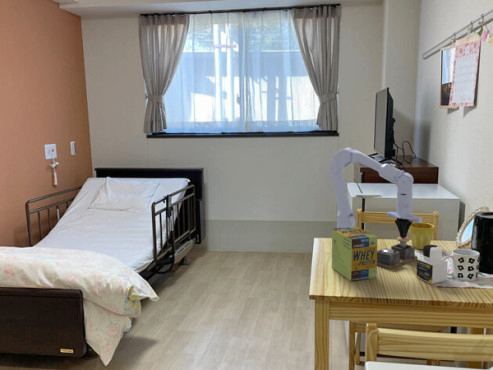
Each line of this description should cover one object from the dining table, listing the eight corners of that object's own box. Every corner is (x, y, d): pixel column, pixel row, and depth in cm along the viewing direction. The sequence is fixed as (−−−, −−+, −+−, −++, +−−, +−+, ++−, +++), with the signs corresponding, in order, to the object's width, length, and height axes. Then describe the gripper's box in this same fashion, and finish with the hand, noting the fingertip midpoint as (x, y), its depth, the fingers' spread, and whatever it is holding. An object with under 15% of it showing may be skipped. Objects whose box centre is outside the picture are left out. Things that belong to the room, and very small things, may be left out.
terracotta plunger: (404, 250, 169) (404, 240, 168) (394, 247, 173) (395, 237, 172) (411, 247, 172) (411, 238, 171) (401, 245, 175) (401, 235, 174)
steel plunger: (388, 263, 164) (389, 253, 163) (379, 260, 167) (379, 250, 167) (395, 260, 166) (396, 250, 166) (386, 257, 170) (386, 248, 169)
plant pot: (423, 252, 179) (424, 229, 178) (402, 246, 188) (403, 224, 186) (438, 247, 185) (439, 225, 183) (417, 242, 193) (418, 221, 192)
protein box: (351, 282, 151) (351, 239, 148) (331, 267, 165) (331, 228, 163) (377, 278, 153) (378, 236, 151) (355, 264, 168) (356, 225, 165)
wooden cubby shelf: (389, 269, 161) (390, 256, 161) (372, 263, 168) (372, 251, 167) (417, 258, 172) (417, 246, 171) (399, 253, 178) (400, 242, 177)
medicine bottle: (415, 277, 153) (417, 245, 151) (431, 274, 156) (432, 242, 154) (431, 284, 146) (433, 250, 144) (447, 280, 149) (448, 247, 147)
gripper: (382, 202, 173) (381, 235, 175) (415, 208, 161) (413, 243, 163) (393, 200, 177) (392, 232, 179) (425, 205, 165) (424, 239, 167)
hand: (403, 237), depth 171 cm, fingers closed
